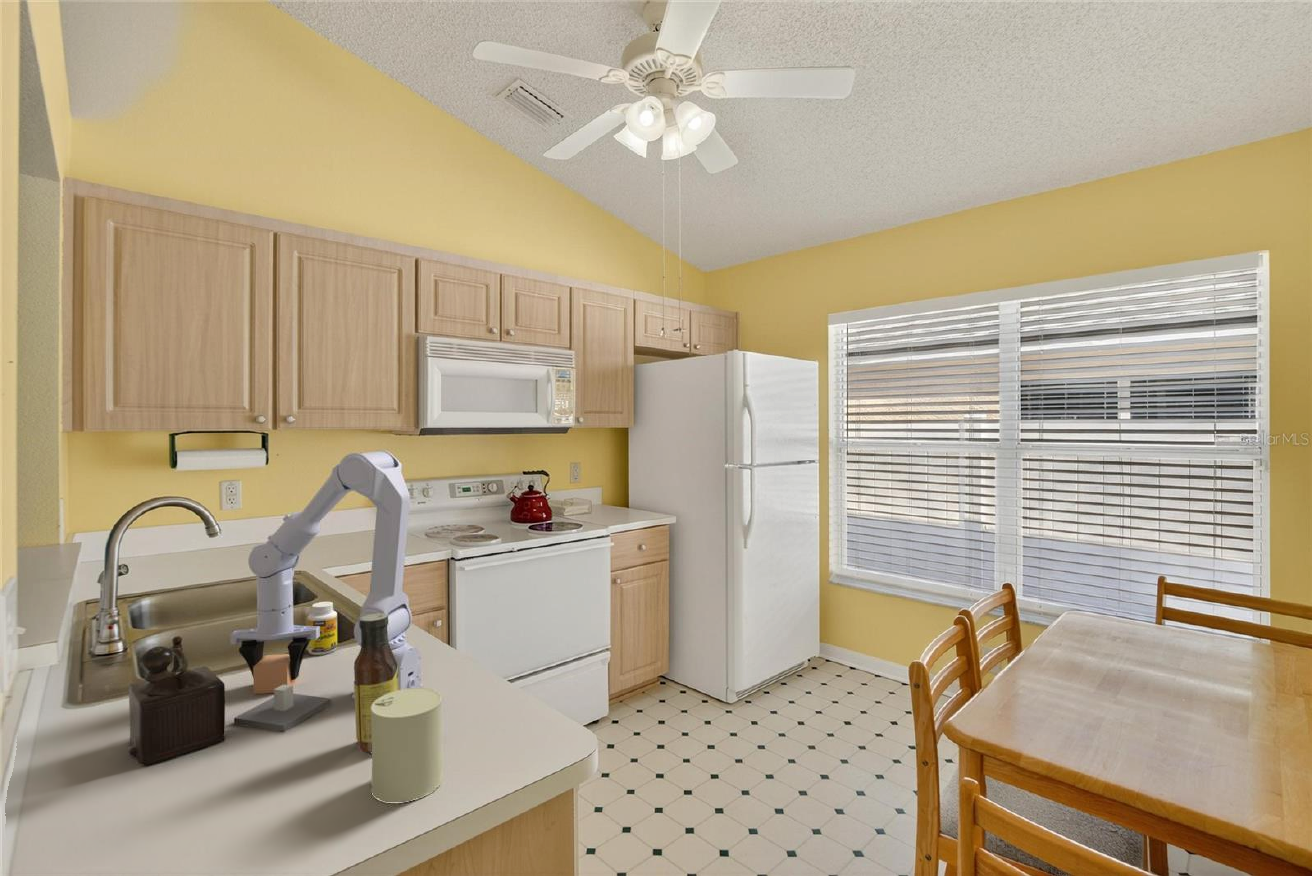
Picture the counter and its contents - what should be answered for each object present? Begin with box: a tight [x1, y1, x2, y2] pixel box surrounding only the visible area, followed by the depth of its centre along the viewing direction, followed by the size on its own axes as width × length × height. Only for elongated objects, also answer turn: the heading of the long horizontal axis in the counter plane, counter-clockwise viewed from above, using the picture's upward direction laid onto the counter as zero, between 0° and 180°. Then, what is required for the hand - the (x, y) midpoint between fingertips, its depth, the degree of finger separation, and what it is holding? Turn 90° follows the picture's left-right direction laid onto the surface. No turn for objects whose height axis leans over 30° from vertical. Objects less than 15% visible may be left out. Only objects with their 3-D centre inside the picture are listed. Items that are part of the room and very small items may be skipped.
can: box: [370, 687, 444, 802], centre depth 88 cm, size 9×9×12 cm
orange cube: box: [252, 653, 300, 695], centre depth 119 cm, size 6×6×5 cm
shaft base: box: [233, 685, 332, 732], centre depth 108 cm, size 10×10×4 cm
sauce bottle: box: [353, 613, 399, 753], centre depth 98 cm, size 6×6×20 cm
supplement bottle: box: [307, 601, 338, 656], centre depth 136 cm, size 6×6×10 cm
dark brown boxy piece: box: [128, 636, 226, 767], centre depth 96 cm, size 16×11×18 cm
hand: (276, 678), depth 119 cm, fingers closed on orange cube, 6 cm apart
